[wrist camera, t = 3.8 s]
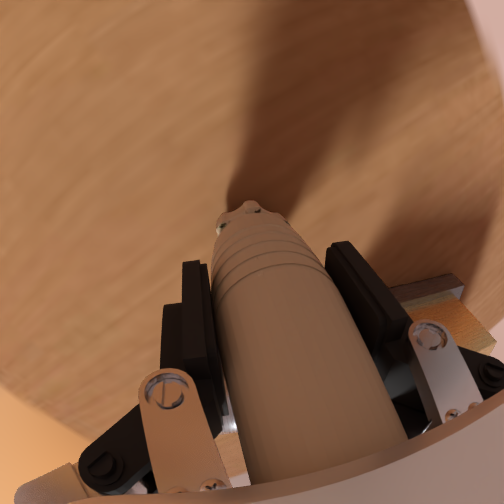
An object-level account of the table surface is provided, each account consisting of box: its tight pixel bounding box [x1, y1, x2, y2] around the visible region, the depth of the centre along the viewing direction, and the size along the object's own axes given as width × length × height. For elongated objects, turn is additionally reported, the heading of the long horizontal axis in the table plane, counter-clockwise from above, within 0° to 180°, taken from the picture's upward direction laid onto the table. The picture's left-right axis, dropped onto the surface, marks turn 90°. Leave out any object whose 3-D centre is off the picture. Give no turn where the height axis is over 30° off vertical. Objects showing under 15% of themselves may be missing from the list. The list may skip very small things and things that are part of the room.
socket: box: [219, 274, 497, 435], centre depth 18 cm, size 11×18×6 cm, turn 93°
